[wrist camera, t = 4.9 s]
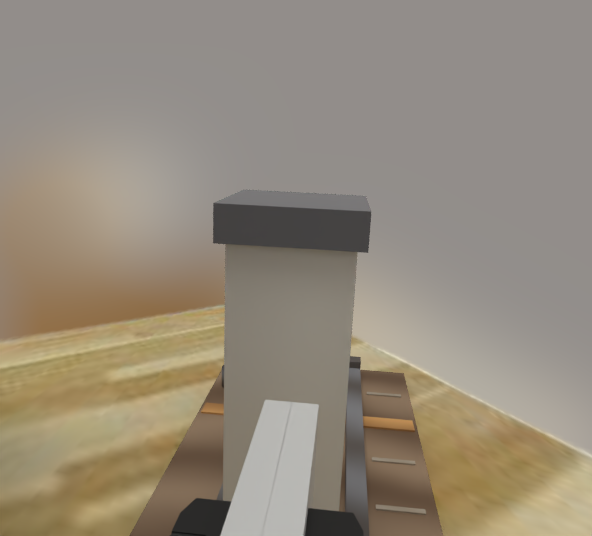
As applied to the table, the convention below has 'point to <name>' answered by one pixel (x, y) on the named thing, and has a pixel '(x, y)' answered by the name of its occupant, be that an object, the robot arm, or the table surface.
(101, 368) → the table surface
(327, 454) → the grey rectangular block
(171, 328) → the table surface
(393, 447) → the brown board with rails
